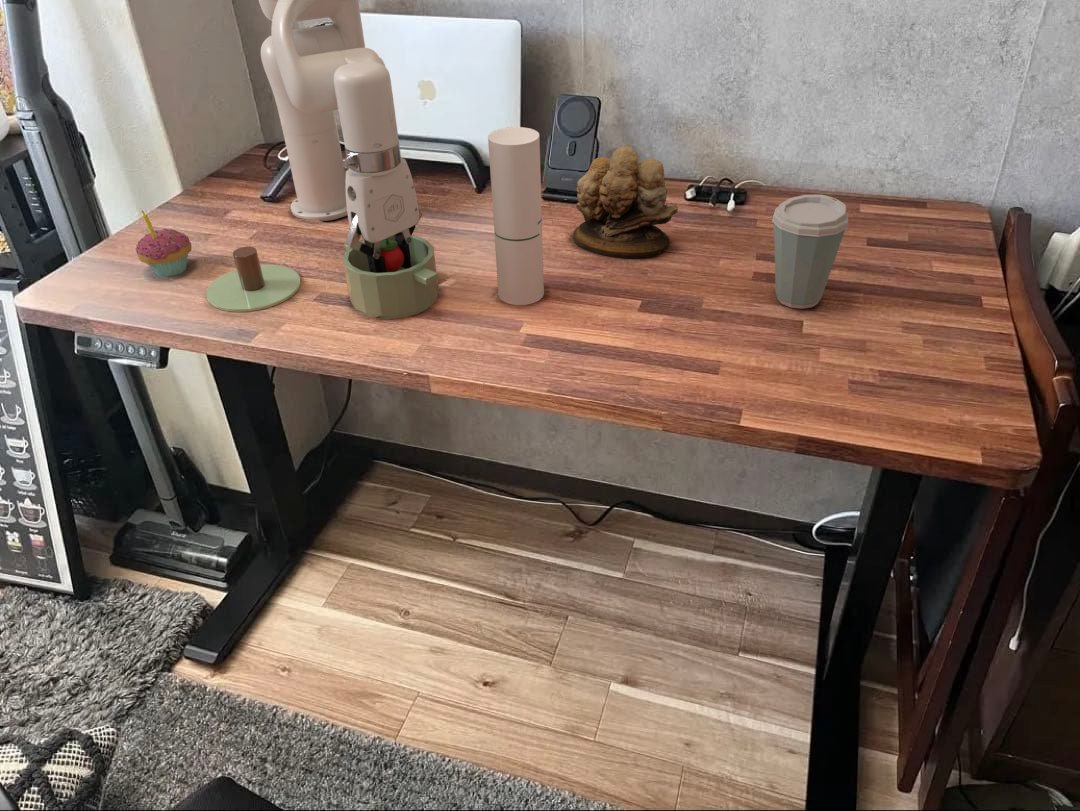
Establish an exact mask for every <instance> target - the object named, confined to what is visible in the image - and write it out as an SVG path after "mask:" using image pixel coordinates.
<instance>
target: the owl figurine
mask: <svg viewBox="0 0 1080 811" xmlns="http://www.w3.org/2000/svg"><path fill="white" fill-rule="evenodd" d="M588 168H589V169H588V170H587V171H586V173H585V174H584V175H582V176H581V177H580V178H579V179H578V181H577V183H576V184H577V188H576V192H577V194H576V196H577V203H576V204H575V206H576V209H577V211H579V213H581V214H582V217H583V219H584V221H583V222H582V223H580V225H579V226H578V227H576V228H575V229H574V231H573V234H572V239H573V242H574V243H575V245H576V246H578V247H579V248H581V249H583V250H586V251H588V252H591V253H594V254H598V255H603V256H608V257H614V258H621V259H622V258H623V259H624V258H625V259H640V258H648V257H653V256H656V255H659V254H660V253H664V252H665V250H666V249H667V248H668V247H669V245H670V243H671V240H670V237H669V236H668V235H667V234H666V233H665V232H664V231H663V230H662V229H661V228H659V227H658V225H666V224H668V223H669V222H670V221H671V220H672V216H674V215H676V214H677V212H678V211H679V207H678V205H676V204H675V205H674V204H673V205H669V206H668V205H667V204H666V202H667V199H668V198H667V197H668V196H667V194H668V189H667V187H666V182H665V168H664V164H663V163H662V161H660V160H658V159H655V158H647V159H643V160H641V161H640V162H639V156H638V152H637V151H636V150H635V149H634V148H633V146H628V145H623V146H619V147H617V149H615V151H613V153H612V156H611V158H608V157H605V156H600V157H597V158H595V159H593V161H592V162H591V164H590V166H589V167H588ZM656 225H657V226H656Z"/></svg>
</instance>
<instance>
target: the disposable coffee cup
mask: <svg viewBox="0 0 1080 811" xmlns="http://www.w3.org/2000/svg"><path fill="white" fill-rule="evenodd" d="M771 222H772V223H773V239H774V240H773V244H774V245H773V246H774V248H773V249H774V281H775V282H774V284H775V285H774V286H775V296H776V299H777V301H778V302H779V303H780V304H781V305H783V306H786V307H789V308H792V309H801V310H803V309H810V308H814V307H815V306H817V305H818V304H819V302H820V301H821V300H822V297H823V294H824V292H825V289H826V286H827V283H828V280H829V278H830V275H831V271H832V269H833V266H834V263H835V260H836V258H837V254H838V251H839V249H840V246H841V242H842V240H843V237H844V234H845V232H846V230H847V229H848V228H849V213H848V212H847V205H846V204H845V203H843V202H842V201H841V200H839V199H838V198H835V197H832V196H829V195H825V194H803V195H802V194H801V195H798V196H793V197H789V198H788V199H786V200H784V201H783V202H781V203H779V204H778V206H777V207H776V208H775V209H774V213H773V216H772V220H771Z"/></svg>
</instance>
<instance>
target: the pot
mask: <svg viewBox="0 0 1080 811" xmlns="http://www.w3.org/2000/svg"><path fill="white" fill-rule="evenodd" d="M411 238H412V241H411V243H410V244H409V250H410V257H411V259H410V260H411V268H408V269H405V268H403V267H401V268H400V269H399V271H396V272H387V273H373V272H370V271H369V265H368V259H367V255H366V254H363V253H362V252H360V251H357V250H354V249H351V248H349V247H347V246H346V245H345V242H343V246H344V250H345V251H344V252H343V258H342V265H343V270H344V276H345V282H346V287H347V291H348V297H349V301H350V303H351V304H352V307H354V309H356V310H357V311H360V312H361V313H364V314H366V315H371V316H375V319H376V320H377V319H378V320H396V319H398V320H399V319H402V318H403V319H404V318H407V317H412V316H415V315H418V314H420V313H422V312H424V311H426V310H428V309H430V307H432V306H433V305H434V304H435V303H436V301H437V300H438V297H439V282H438V280H439V273H438V271H437V264H436V254H435V247H434V245H432V244H431V242H429V240H427V239H426V238H423V237H422V236H421V237H420V236H418V235H414V234H412V236H411ZM388 240H395V238H394V235H393V236H391V237H389V238H388ZM382 241H383V240H382ZM359 242H361V243H362V239H359ZM371 248H372V243H371Z"/></svg>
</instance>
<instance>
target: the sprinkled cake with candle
mask: <svg viewBox="0 0 1080 811" xmlns="http://www.w3.org/2000/svg"><path fill="white" fill-rule="evenodd" d="M141 212H142V218H143V220H144V222H145V224H146V227H147V228H148V230H149V233H147V234H145V235H144V236H143V237H141V239H140V240H138V242H137V244H136V246H135V252H136V255H137V258H138V260H139V261H140V263H141V262H142V263H144V264H146V265H148V266H149V267H150V268H151V270H152V271H153V272H154V274H155V275H156V276H158V277H162V278H169V277H174V276H177V275H180V274H182V273H184V272H185V271H186V270H187V268H188V263H187V262H188V257H189V254H190V252H192V242H191V241H190V238H189V236H188V235H186V234H185V233H182V232H180V231H177V230H175V229H169V228H163V229H157V230H155V229H154V227H153V224H152V223H151V220H150V218H149V216H148V214H147V213H146V212H144V210H143V209H141Z"/></svg>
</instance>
